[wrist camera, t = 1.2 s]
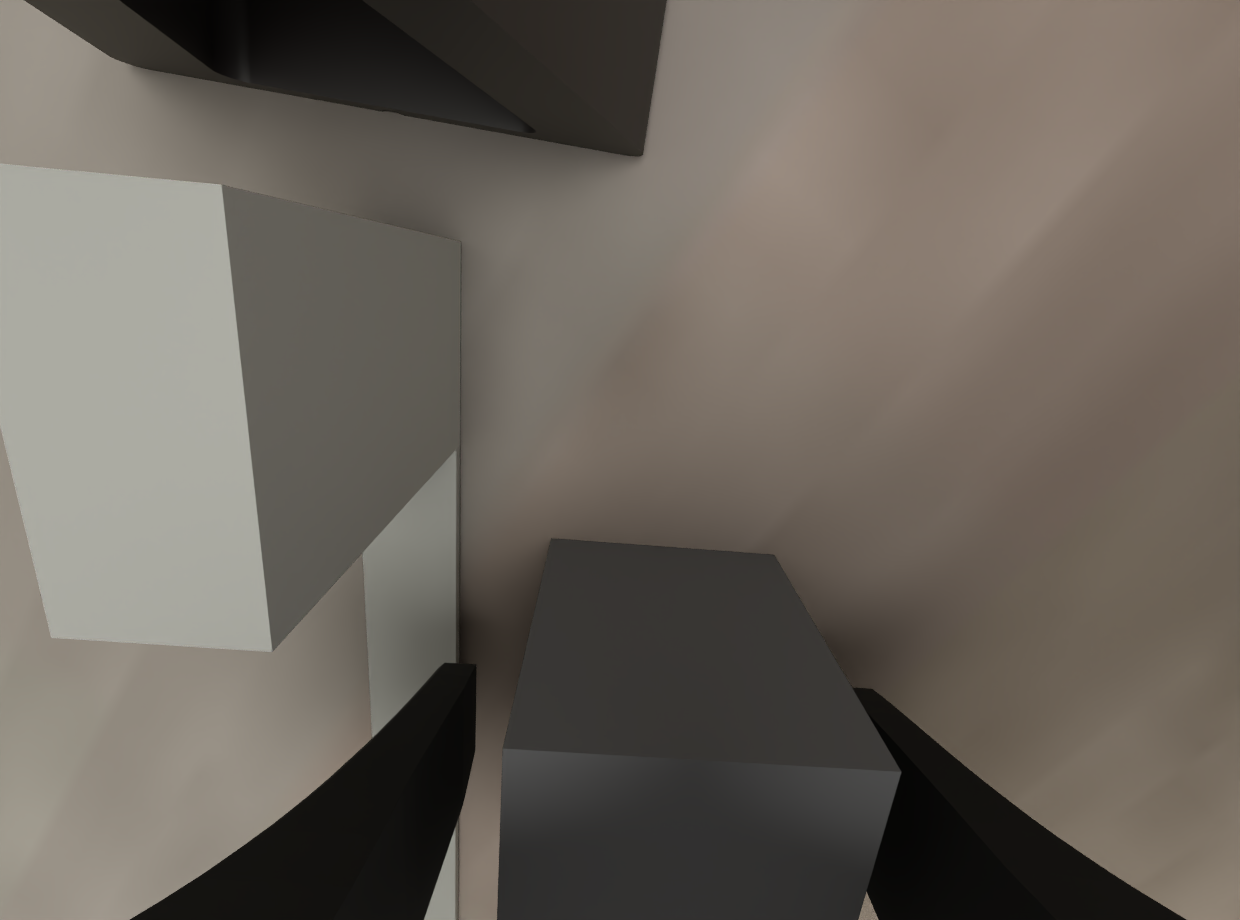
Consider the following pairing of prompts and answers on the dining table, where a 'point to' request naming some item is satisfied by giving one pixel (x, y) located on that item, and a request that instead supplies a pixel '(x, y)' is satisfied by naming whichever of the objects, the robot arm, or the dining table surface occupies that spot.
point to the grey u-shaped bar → (233, 420)
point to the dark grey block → (684, 747)
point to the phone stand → (409, 56)
